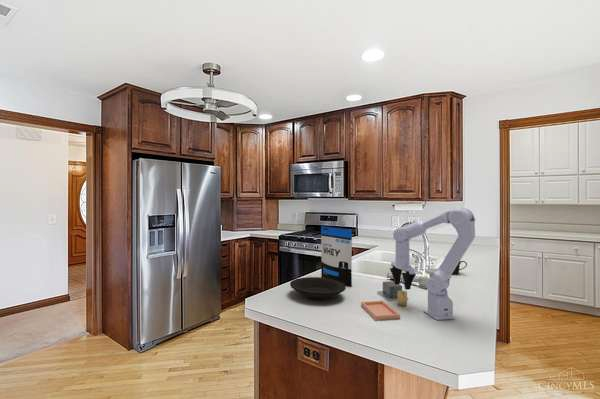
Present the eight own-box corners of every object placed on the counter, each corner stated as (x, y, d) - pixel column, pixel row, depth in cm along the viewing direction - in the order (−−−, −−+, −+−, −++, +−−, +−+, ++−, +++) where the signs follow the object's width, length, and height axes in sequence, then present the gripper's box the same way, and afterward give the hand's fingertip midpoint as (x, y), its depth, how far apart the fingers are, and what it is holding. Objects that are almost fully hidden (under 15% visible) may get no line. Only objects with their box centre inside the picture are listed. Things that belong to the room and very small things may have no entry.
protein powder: (327, 276, 185) (327, 225, 184) (357, 285, 165) (357, 229, 165) (315, 278, 179) (315, 226, 179) (345, 288, 160) (345, 230, 159)
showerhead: (435, 266, 178) (447, 270, 169) (434, 278, 178) (447, 283, 169) (420, 267, 176) (432, 271, 166) (420, 279, 176) (432, 284, 166)
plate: (279, 295, 150) (279, 283, 149) (312, 285, 166) (312, 274, 166) (323, 310, 130) (323, 297, 130) (356, 297, 147) (356, 285, 147)
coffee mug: (441, 272, 192) (441, 256, 192) (452, 271, 194) (453, 255, 194) (456, 277, 181) (456, 260, 180) (468, 276, 183) (468, 259, 183)
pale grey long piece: (391, 271, 180) (432, 274, 160) (392, 283, 179) (433, 287, 160) (385, 273, 176) (426, 276, 157) (387, 285, 176) (428, 289, 156)
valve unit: (408, 299, 142) (408, 286, 142) (387, 301, 141) (387, 288, 141) (395, 291, 155) (395, 279, 154) (376, 292, 153) (376, 280, 153)
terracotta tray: (400, 319, 120) (400, 314, 120) (375, 320, 119) (375, 316, 119) (382, 304, 136) (382, 300, 136) (361, 306, 135) (361, 301, 135)
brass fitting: (408, 306, 134) (408, 292, 134) (400, 307, 133) (400, 293, 133) (404, 303, 138) (404, 290, 138) (395, 304, 137) (395, 290, 137)
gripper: (421, 258, 129) (420, 290, 129) (400, 252, 143) (400, 281, 143) (406, 259, 127) (406, 292, 128) (387, 252, 141) (387, 282, 142)
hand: (402, 286), depth 135 cm, fingers open, 7 cm apart
